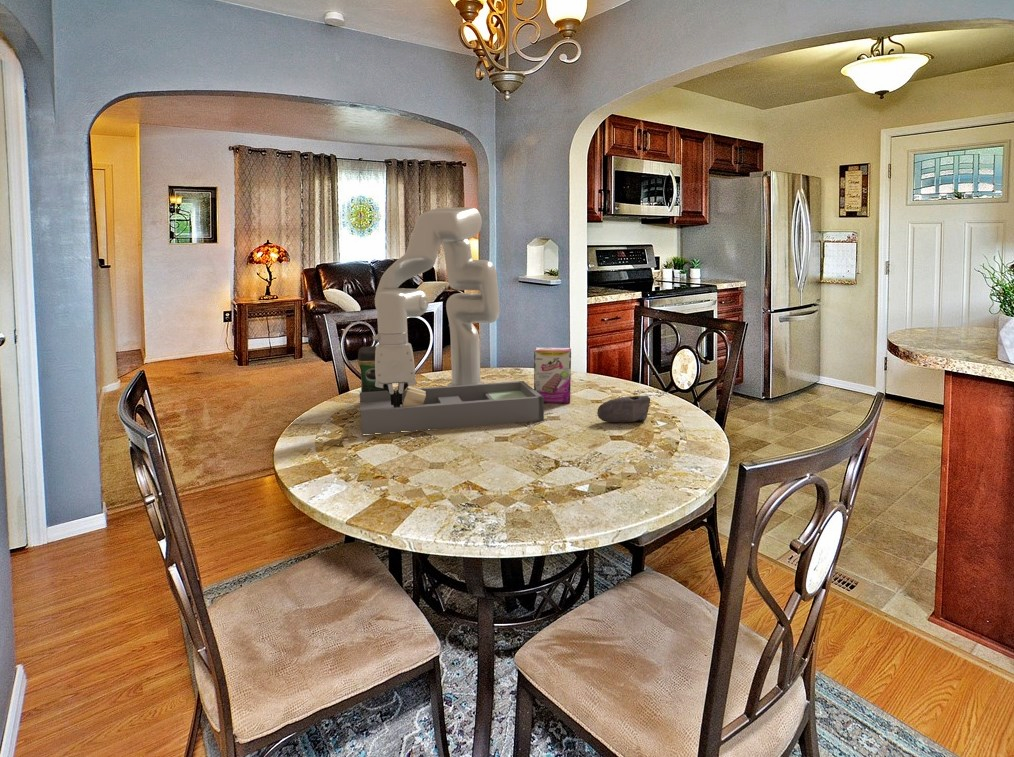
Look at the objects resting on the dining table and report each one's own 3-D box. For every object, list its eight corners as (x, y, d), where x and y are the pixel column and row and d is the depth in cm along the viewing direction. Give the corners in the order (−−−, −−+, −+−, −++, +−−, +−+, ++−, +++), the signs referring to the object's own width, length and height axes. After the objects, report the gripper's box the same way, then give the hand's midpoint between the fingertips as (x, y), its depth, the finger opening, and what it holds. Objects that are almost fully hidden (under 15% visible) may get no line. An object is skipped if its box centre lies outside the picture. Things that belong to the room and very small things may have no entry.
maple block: (402, 403, 168) (407, 386, 167) (420, 408, 169) (425, 391, 168) (401, 408, 163) (407, 390, 162) (420, 413, 164) (425, 395, 163)
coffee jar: (395, 403, 190) (391, 343, 186) (392, 410, 183) (389, 348, 179) (363, 404, 190) (359, 344, 185) (359, 411, 182) (355, 349, 178)
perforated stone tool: (599, 425, 164) (599, 400, 163) (594, 420, 170) (595, 395, 168) (654, 423, 166) (655, 398, 164) (648, 418, 171) (649, 393, 169)
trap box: (361, 414, 179) (359, 392, 177) (523, 401, 190) (523, 380, 188) (362, 436, 159) (360, 411, 157) (543, 420, 170) (543, 397, 169)
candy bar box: (533, 403, 188) (533, 350, 184) (534, 399, 192) (534, 347, 189) (570, 403, 186) (571, 350, 183) (570, 399, 191) (571, 347, 188)
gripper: (364, 342, 156) (368, 413, 160) (423, 339, 160) (426, 408, 163) (363, 338, 163) (367, 406, 167) (420, 335, 167) (423, 402, 171)
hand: (396, 407), depth 165 cm, fingers closed
